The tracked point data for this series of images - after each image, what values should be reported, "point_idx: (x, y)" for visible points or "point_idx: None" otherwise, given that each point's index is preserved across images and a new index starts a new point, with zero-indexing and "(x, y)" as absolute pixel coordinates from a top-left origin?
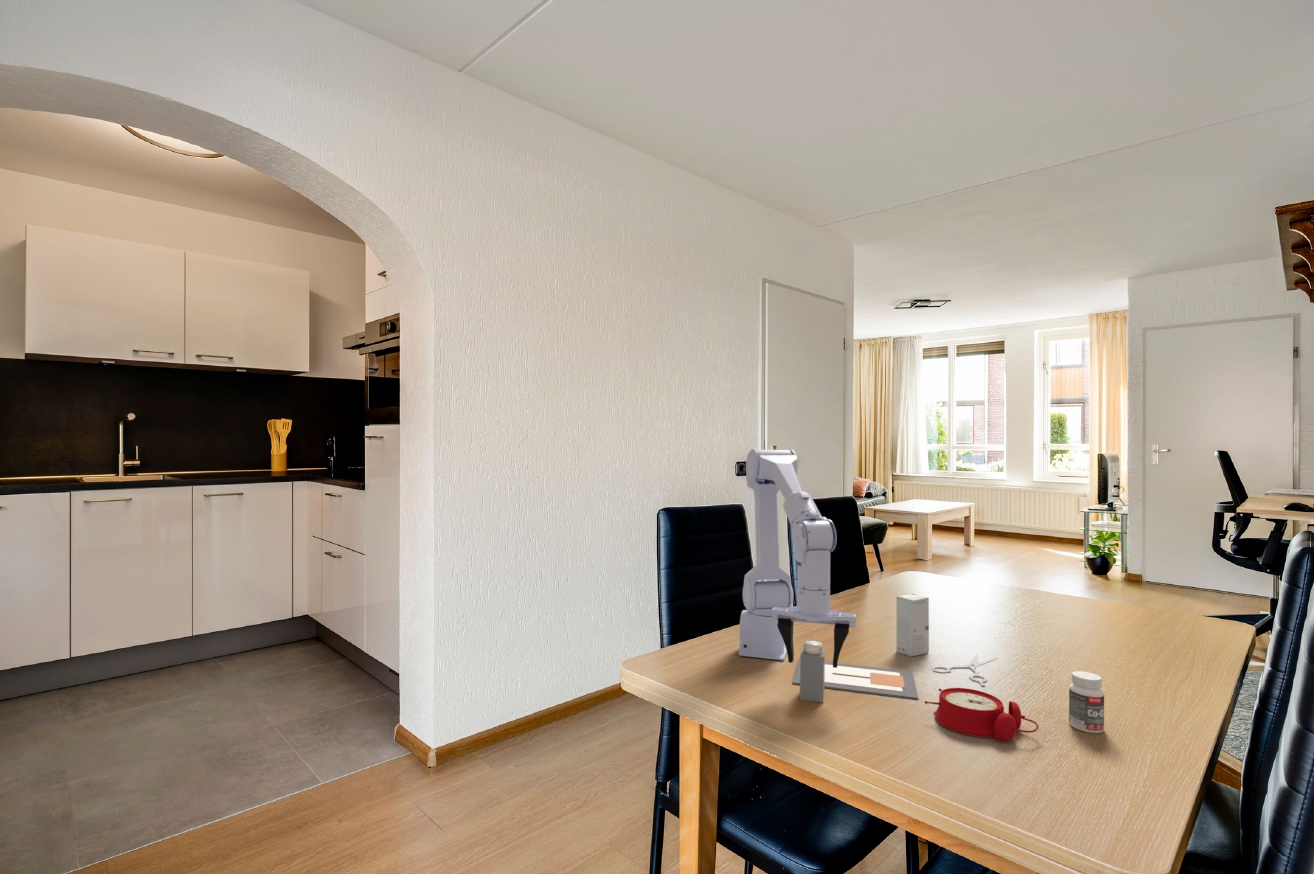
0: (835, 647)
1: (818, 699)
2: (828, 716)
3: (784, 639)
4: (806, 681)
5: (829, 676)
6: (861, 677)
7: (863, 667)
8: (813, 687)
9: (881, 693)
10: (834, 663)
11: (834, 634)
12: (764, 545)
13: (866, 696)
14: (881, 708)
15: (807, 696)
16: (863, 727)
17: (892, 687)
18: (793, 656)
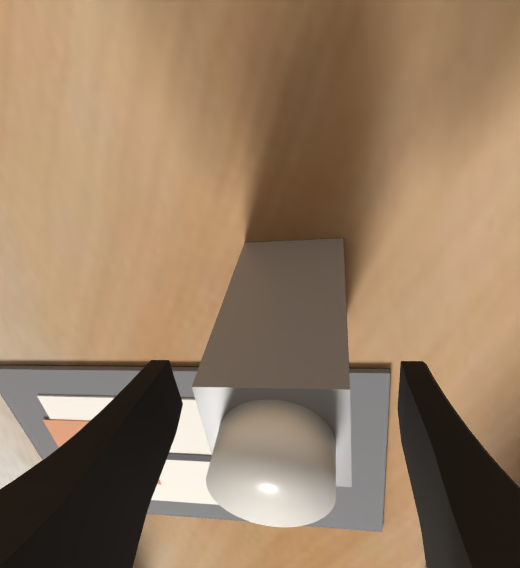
0: (94, 448)
1: (262, 246)
2: (189, 99)
3: (510, 487)
4: (312, 285)
5: None
6: (173, 453)
7: (189, 509)
8: (279, 272)
9: (84, 369)
10: (149, 372)
11: (23, 541)
12: None
13: (122, 343)
14: (44, 266)
15: (309, 248)
16: (20, 41)
17: (71, 412)
18: (400, 420)
